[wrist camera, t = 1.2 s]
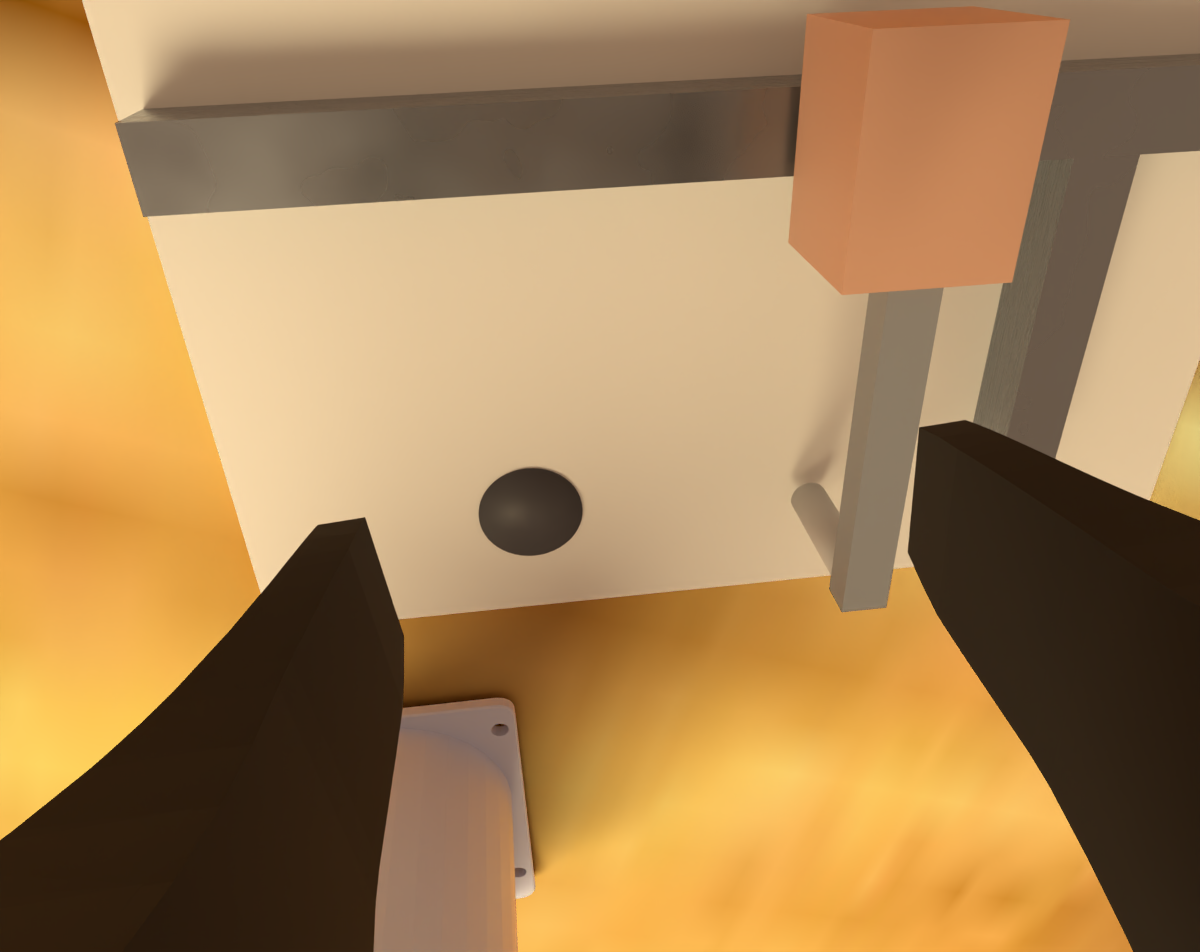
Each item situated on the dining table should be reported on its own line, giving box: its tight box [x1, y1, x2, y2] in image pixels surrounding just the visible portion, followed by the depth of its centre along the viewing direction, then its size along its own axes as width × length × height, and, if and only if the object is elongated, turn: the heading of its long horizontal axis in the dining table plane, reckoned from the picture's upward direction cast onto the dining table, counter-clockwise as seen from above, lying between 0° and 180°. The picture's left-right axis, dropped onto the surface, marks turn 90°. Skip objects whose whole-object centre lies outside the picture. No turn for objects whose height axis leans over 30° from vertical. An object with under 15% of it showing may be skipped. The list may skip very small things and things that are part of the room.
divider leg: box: [788, 6, 1070, 612], centre depth 18 cm, size 11×3×4 cm, turn 2°
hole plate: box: [82, 0, 1200, 619], centre depth 20 cm, size 16×24×1 cm, turn 92°
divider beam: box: [115, 53, 1200, 458], centre depth 20 cm, size 10×23×2 cm, turn 92°
